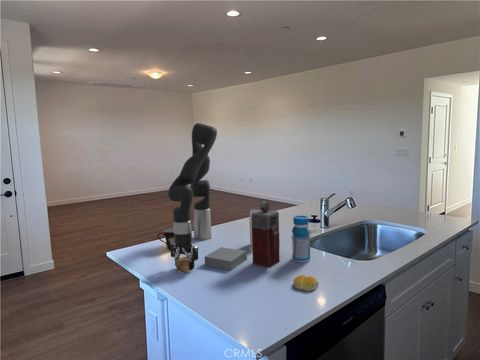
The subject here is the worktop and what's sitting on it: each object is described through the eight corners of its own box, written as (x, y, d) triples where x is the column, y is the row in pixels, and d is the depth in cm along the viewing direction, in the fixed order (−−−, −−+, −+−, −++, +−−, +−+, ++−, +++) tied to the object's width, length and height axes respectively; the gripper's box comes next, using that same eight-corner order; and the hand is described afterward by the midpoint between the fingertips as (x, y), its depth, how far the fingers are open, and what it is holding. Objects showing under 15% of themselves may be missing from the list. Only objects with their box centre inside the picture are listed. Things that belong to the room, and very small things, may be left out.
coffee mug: (185, 246, 174) (184, 228, 173) (175, 252, 166) (174, 233, 165) (167, 244, 179) (166, 226, 178) (157, 249, 171) (155, 230, 170)
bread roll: (298, 280, 129) (298, 270, 129) (320, 284, 125) (320, 274, 124) (289, 288, 123) (289, 278, 122) (312, 293, 118) (312, 283, 117)
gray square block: (204, 265, 148) (204, 256, 147) (221, 255, 160) (221, 247, 159) (231, 270, 141) (231, 261, 140) (246, 259, 153) (246, 251, 152)
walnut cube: (176, 271, 142) (176, 260, 141) (184, 267, 146) (183, 256, 146) (185, 273, 140) (185, 261, 139) (193, 268, 144) (192, 258, 143)
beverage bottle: (299, 264, 145) (299, 220, 142) (288, 258, 152) (287, 216, 150) (314, 260, 148) (314, 217, 146) (302, 255, 156) (302, 213, 153)
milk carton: (263, 247, 168) (262, 211, 165) (250, 247, 169) (249, 211, 167) (265, 243, 175) (264, 208, 172) (252, 243, 176) (251, 208, 174)
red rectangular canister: (274, 269, 141) (272, 205, 137) (252, 263, 147) (250, 202, 144) (284, 262, 148) (283, 201, 144) (263, 257, 154) (261, 199, 151)
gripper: (164, 231, 141) (166, 268, 143) (190, 235, 134) (192, 274, 136) (175, 227, 148) (177, 262, 150) (201, 230, 141) (203, 267, 143)
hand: (184, 267), depth 143 cm, fingers open, 7 cm apart
